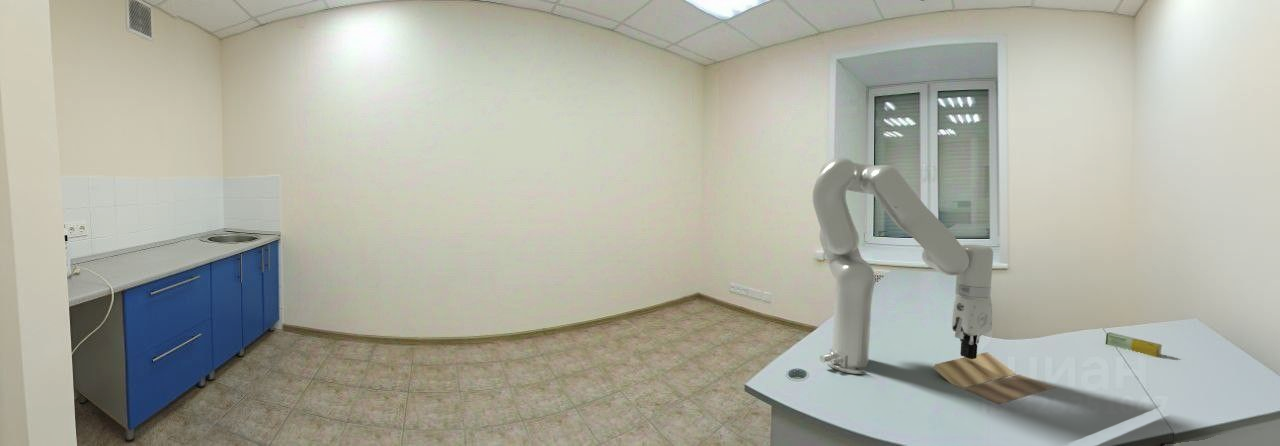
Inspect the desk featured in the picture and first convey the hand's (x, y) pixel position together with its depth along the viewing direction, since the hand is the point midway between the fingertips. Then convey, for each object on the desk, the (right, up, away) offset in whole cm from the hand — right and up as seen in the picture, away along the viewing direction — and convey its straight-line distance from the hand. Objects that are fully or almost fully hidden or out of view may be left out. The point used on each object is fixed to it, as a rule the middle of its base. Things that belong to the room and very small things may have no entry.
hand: (968, 356), depth 122 cm
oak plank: (0, -4, -1) cm, 4 cm away
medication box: (+68, -4, +21) cm, 71 cm away
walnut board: (+4, -7, -9) cm, 12 cm away
